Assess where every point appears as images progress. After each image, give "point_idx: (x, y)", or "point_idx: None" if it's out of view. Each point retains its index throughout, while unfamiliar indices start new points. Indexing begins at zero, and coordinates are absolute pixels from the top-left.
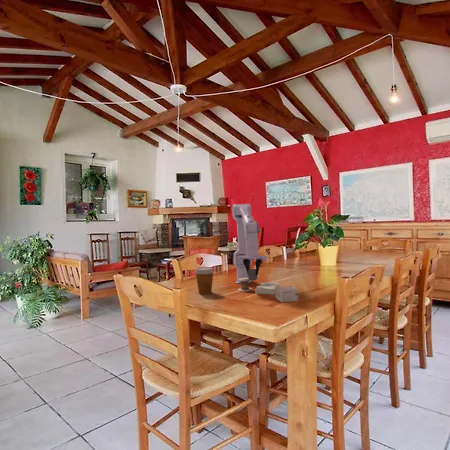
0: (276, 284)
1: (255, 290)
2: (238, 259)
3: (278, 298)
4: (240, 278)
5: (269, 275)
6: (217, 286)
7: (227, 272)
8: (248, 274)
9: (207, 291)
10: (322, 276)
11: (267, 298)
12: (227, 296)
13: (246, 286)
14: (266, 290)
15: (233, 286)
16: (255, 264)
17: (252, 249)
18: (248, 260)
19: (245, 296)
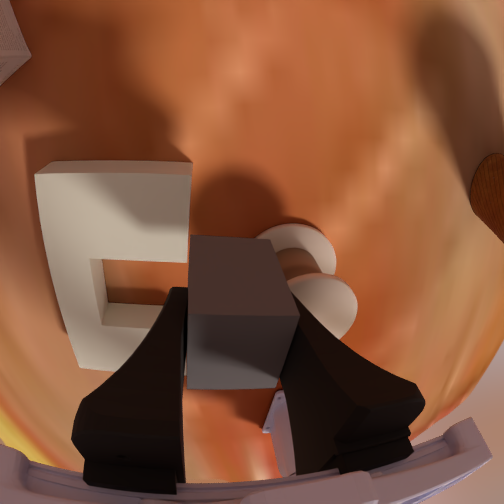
0: (72, 323)
1: (191, 169)
2: (467, 425)
3: (8, 8)
4: (342, 331)
5: (208, 475)
6: (426, 321)
7: None
8: (283, 275)
9: (495, 161)
10: (38, 456)
11: (81, 29)
12: (393, 75)
13: (281, 265)
14: (96, 168)
15: (355, 337)
16: (178, 385)
17: None
18: (327, 462)
19: (263, 65)
